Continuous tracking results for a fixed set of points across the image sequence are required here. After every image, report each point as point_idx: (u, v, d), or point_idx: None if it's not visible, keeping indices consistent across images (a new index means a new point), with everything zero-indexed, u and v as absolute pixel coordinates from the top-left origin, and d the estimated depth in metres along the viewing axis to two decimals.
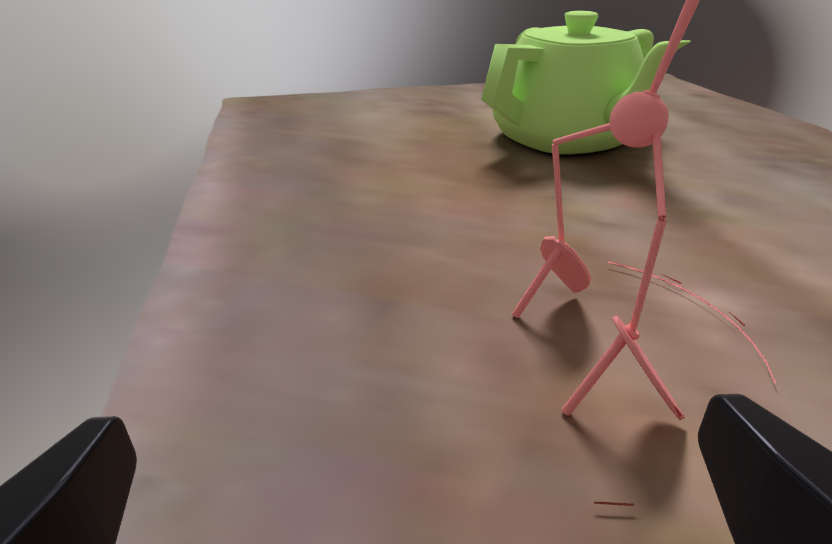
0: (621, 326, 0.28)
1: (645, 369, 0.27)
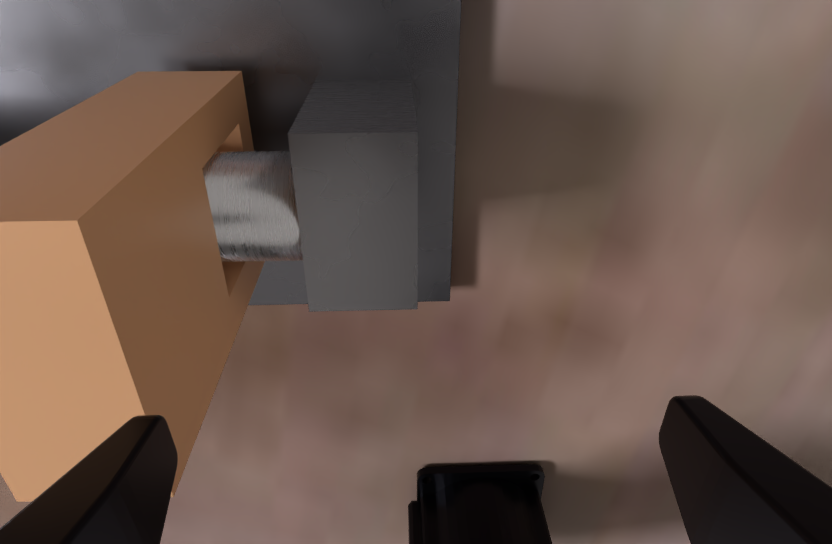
0: None
1: None
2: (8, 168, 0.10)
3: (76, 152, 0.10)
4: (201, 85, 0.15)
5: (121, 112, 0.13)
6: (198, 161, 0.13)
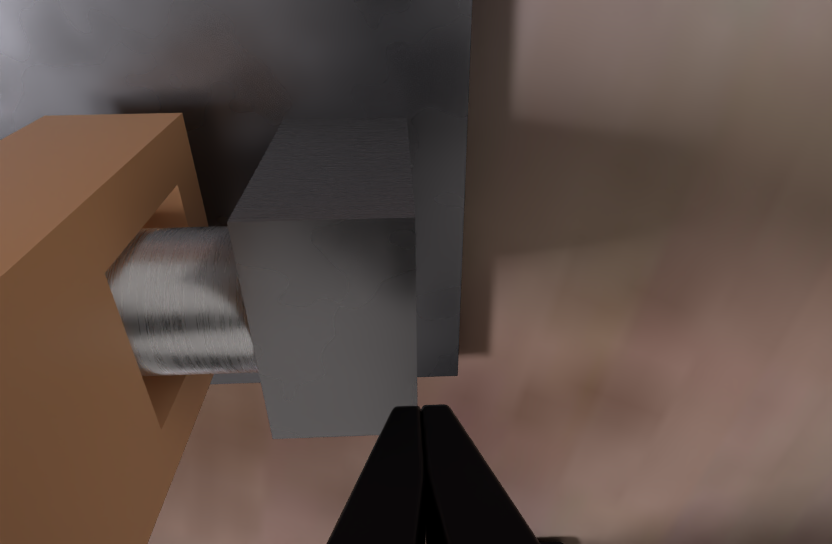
0: None
1: None
2: None
3: None
4: (119, 140, 0.11)
5: None
6: (96, 266, 0.09)
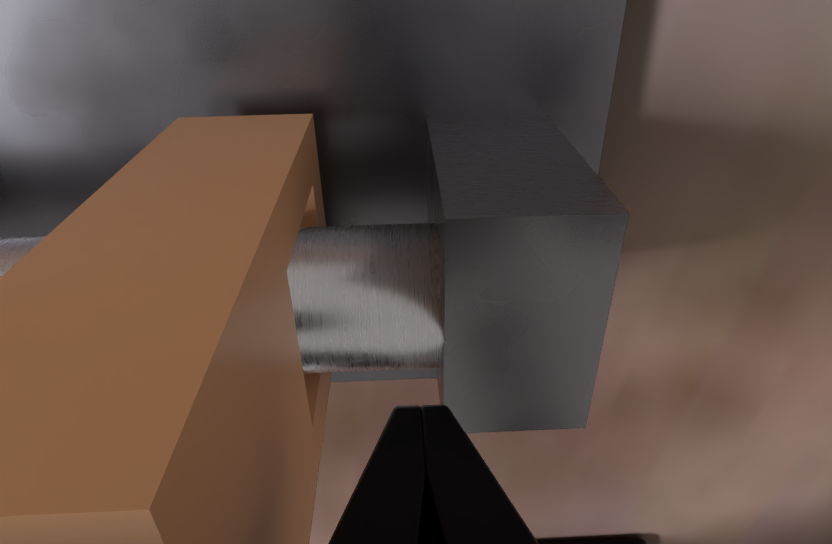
0: None
1: None
2: (13, 338, 0.06)
3: (119, 292, 0.06)
4: (269, 140, 0.11)
5: (171, 195, 0.09)
6: (283, 264, 0.09)
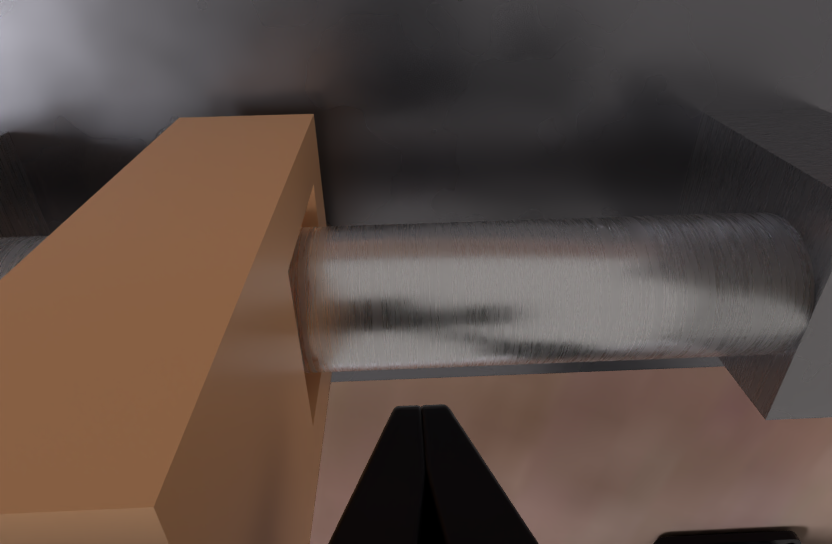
0: None
1: None
2: (17, 337, 0.06)
3: (122, 291, 0.06)
4: (270, 141, 0.11)
5: (173, 195, 0.09)
6: (284, 264, 0.09)
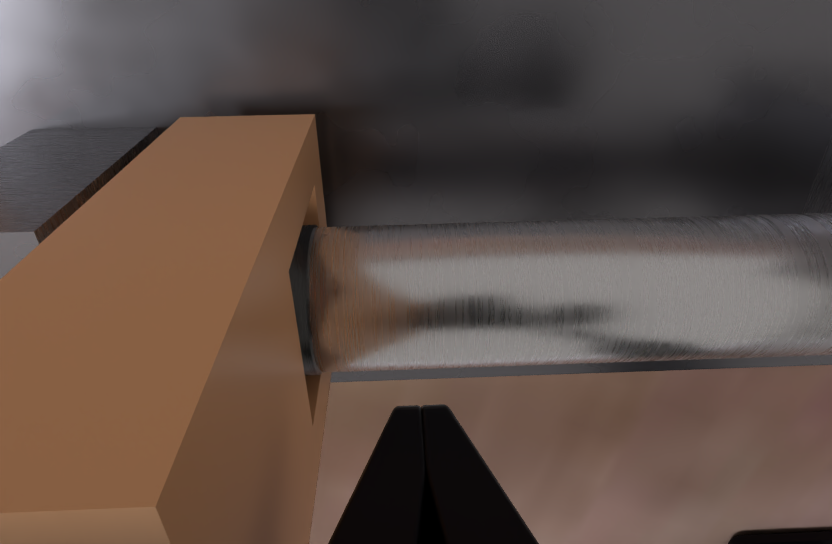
0: None
1: None
2: (18, 335, 0.06)
3: (123, 290, 0.06)
4: (271, 141, 0.11)
5: (174, 195, 0.09)
6: (285, 264, 0.09)
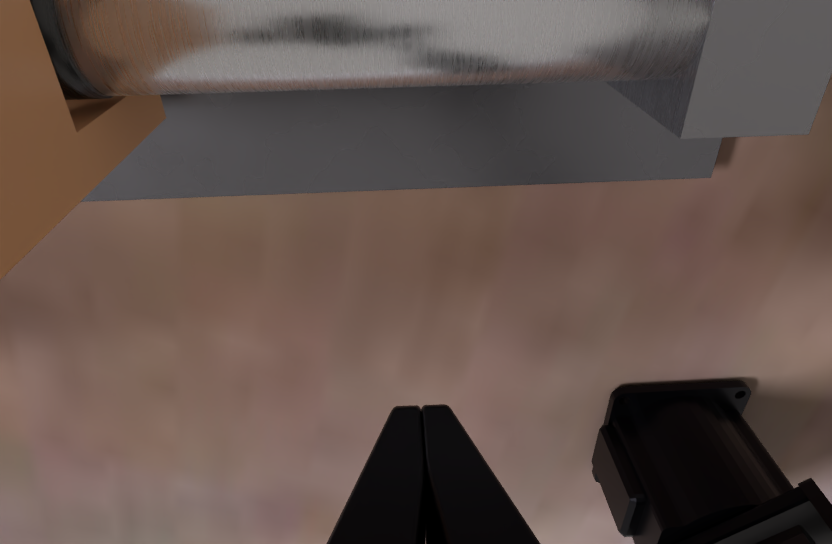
0: None
1: None
2: None
3: None
4: None
5: None
6: None
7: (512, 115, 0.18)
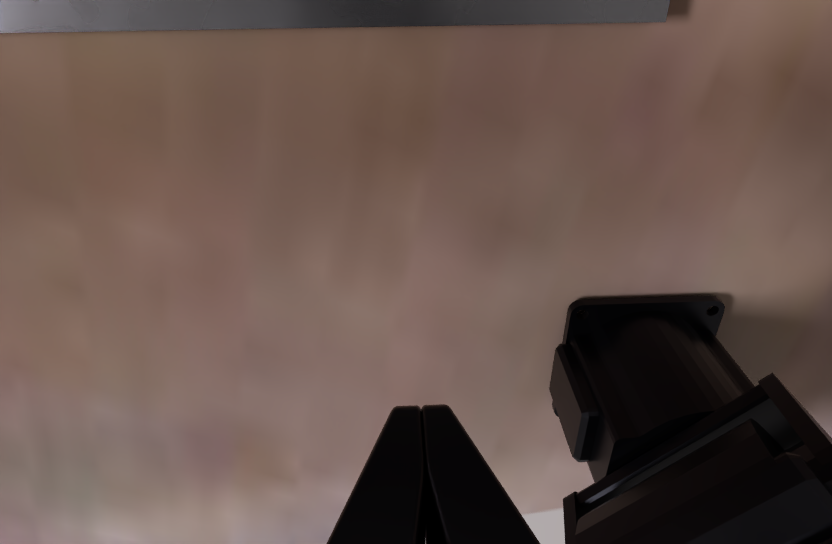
0: None
1: None
2: None
3: None
4: None
5: None
6: None
7: None
